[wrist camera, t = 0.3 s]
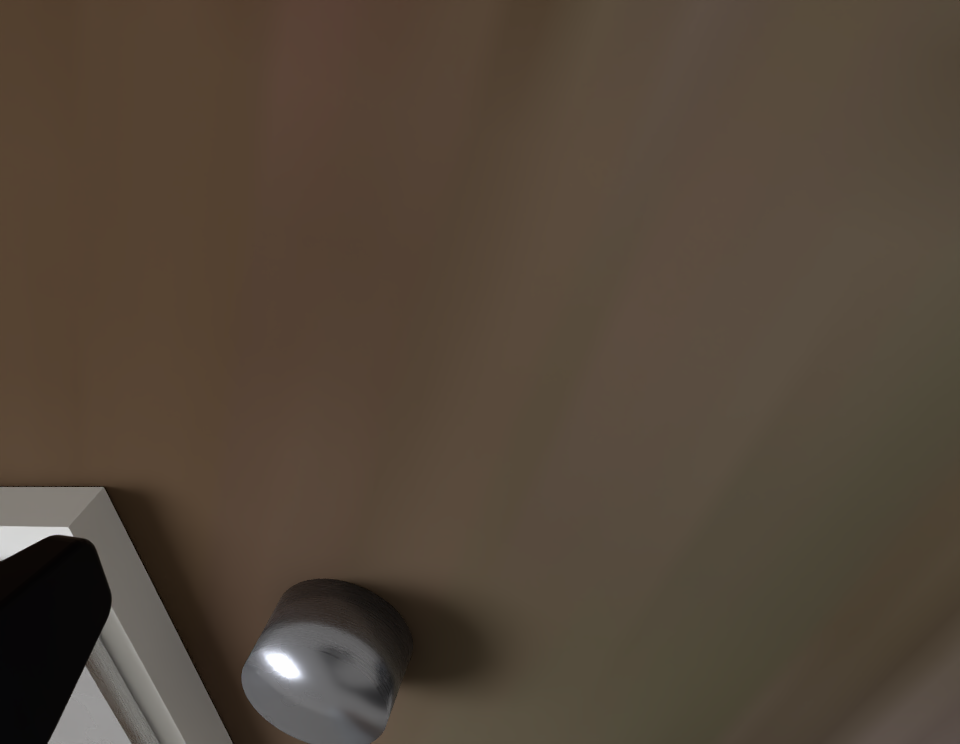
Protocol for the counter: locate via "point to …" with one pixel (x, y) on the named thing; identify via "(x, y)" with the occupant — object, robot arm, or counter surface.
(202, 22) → the counter surface
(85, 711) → the pan
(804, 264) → the counter surface
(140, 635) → the scale
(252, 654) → the steel cup
